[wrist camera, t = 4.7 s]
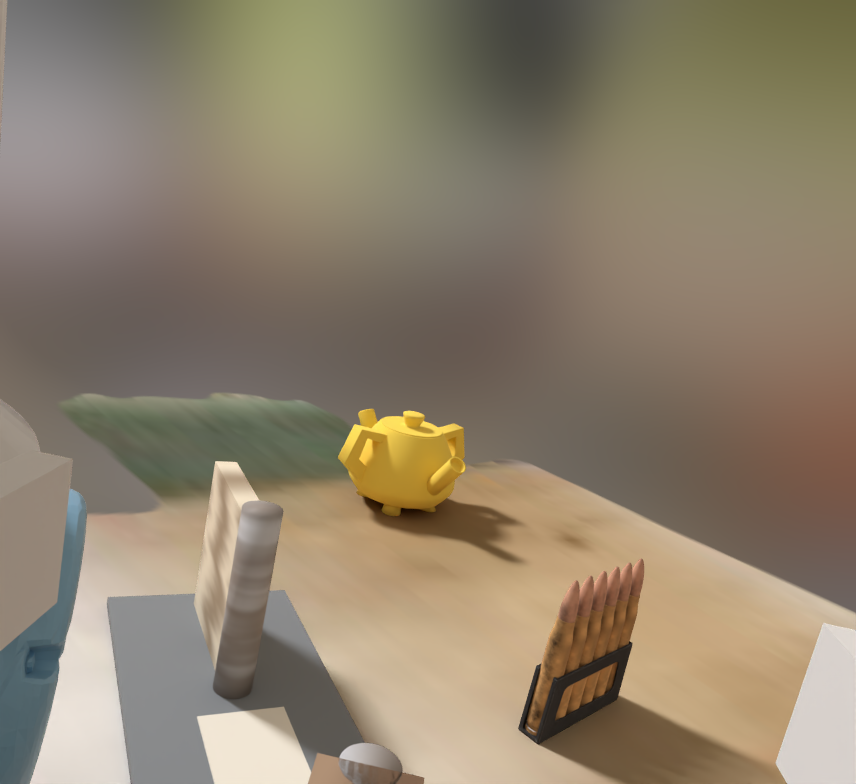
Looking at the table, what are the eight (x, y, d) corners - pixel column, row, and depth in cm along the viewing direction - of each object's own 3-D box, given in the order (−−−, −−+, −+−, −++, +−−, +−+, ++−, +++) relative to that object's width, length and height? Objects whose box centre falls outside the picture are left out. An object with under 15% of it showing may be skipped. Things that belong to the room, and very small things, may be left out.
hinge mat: (416, 854, 42) (419, 844, 42) (148, 914, 36) (150, 901, 36) (283, 596, 66) (284, 589, 66) (106, 604, 59) (107, 596, 59)
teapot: (291, 473, 95) (306, 386, 92) (406, 467, 106) (422, 389, 104) (382, 546, 80) (404, 444, 77) (504, 529, 91) (526, 440, 89)
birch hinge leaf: (256, 697, 51) (288, 517, 49) (216, 701, 50) (247, 517, 47) (220, 602, 62) (245, 450, 59) (187, 604, 61) (210, 448, 58)
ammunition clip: (598, 686, 63) (637, 551, 60) (618, 699, 61) (658, 562, 59) (517, 729, 55) (557, 577, 52) (537, 744, 54) (580, 590, 51)
